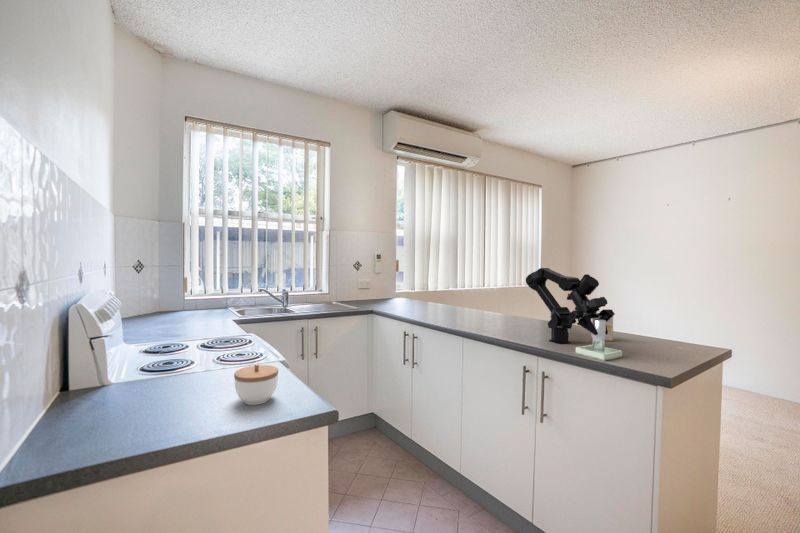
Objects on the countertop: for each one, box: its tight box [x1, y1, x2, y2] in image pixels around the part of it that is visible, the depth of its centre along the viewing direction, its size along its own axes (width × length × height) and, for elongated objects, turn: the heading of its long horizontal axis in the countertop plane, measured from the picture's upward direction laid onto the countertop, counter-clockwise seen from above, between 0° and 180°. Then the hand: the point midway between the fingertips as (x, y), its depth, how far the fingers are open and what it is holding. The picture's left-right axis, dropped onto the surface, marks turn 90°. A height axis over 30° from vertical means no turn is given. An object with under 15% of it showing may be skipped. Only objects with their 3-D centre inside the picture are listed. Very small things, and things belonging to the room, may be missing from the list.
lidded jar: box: [233, 363, 279, 406], centre depth 96 cm, size 11×11×9 cm
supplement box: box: [591, 310, 614, 342], centre depth 170 cm, size 8×5×13 cm, turn 71°
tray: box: [575, 344, 623, 362], centre depth 143 cm, size 12×12×2 cm
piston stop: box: [591, 319, 606, 352], centre depth 143 cm, size 4×4×12 cm
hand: (601, 334), depth 142 cm, fingers closed on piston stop, 4 cm apart
